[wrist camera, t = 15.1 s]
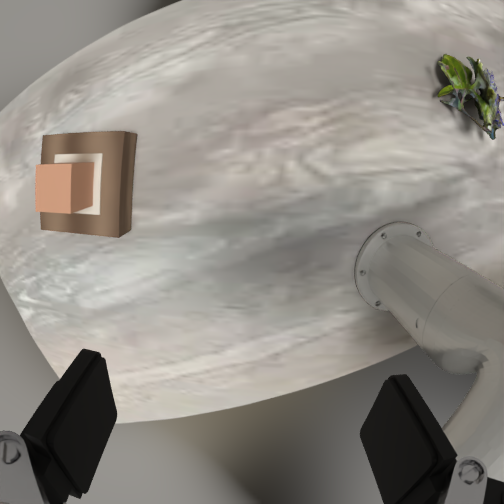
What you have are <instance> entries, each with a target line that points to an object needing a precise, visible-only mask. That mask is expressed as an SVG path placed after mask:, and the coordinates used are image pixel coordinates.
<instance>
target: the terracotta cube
mask: <svg viewBox="0 0 504 504" xmlns="http://www.w3.org/2000/svg"><path fill="white" fill-rule="evenodd" d="M93 179H94V162H73V163H52V164H40V165H36V188H35V195H36V212H51V213H67V214H71V213H74V212H77V211H80V210H82V209H85V208H88V207H91V206H93Z"/></svg>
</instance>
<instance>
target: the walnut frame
mask: <svg viewBox="0 0 504 504" xmlns="http://www.w3.org/2000/svg"><path fill="white" fill-rule="evenodd" d="M136 140H137V134H135V133H130V132H126V131H110V132H84V133H67V134H55V135H44V136H43V141H42V153H41V164H52V163H73V162H94V179H93V206H91V207H88V208H85V209H82V210H80V211H77V212H74V213H71V214H67V213H51V212H40V219H41V230H50V231H59V232H69V233H79V234H88V235H98V236H107V237H117V238H119V237H121V236H122V235H124V234H126V233H127V232H129V231H130V230H131V214H132V190H133V174H134V161H135V150H136Z"/></svg>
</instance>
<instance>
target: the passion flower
mask: <svg viewBox="0 0 504 504" xmlns="http://www.w3.org/2000/svg"><path fill="white" fill-rule="evenodd" d="M467 59H468V60H469V61H470V64H471V65H472V68H473V69H474V72H475V83H474V84H473V85H471V82H470V80H471V79H472V71H471V70H470V69H469V68H468V67H466V66H464V64H462V62H461V61H459V60H457V59H456V58H454V57H452V56H450V55H447V54H444V55H443V57H442V61H441V62H440V61H438V62H437V64H438V65H440V67H441V70H442V71H443V72H444V74H445V75H446V77H447V78H448V79H449V81H450V83H451V85H448V86H446V87H444V88H443V89H441V91H440V92H439V94H438V97H441V96H443V95H446V94H454V95H455V96H456V98H452V99H451V100H450V101H443V100H440V102H443V103H445V104H449V105H451V106H453V107H456V108H457V109H458V110H459V111H461V112H464V113H465V114H467V115H468V116H469V117H470V118H471V119H472V120H473V121H475V122H476V123H477V124H478V125H479V127H480V128H482V129H483V130H484V131H485V132H487V134H489V136H490V138H491V139H493V140H494V139H495V138H496V137H495V131H496V130H497V129H499V128H501V125H500V124H502V126H504V124H503V122H502V118H501V112H500V110H499V102H500V101H504V97H500V96H499V94H497V87H495V83H494V78H493V75H492V72H490V71H488V69H487V68H486V69H485V70H484V71H483V70H482V63H481V62H480V59H477V61H476V62H475V61H474V60H473V59H472V58H471V57H467ZM477 89H479V91H480V95H478V94H477V93H476V90H477ZM459 92H460V93H462V99H461V101H460V100H459V98H458V93H459ZM467 94H470V95H472V96H473V98H471V99H468V100H465V95H467ZM472 99H475V105H476V107H477V109H478V114H479V118H480V120H484V125H483V126H481V125H480V124H479V123H478V121H476V119H474V118H473V117H472V116H471V115H470V114H469V113H467V112H466V110H465V109H464V106H463V104H464V102H466V101H469V100H472Z"/></svg>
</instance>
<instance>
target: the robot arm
mask: <svg viewBox="0 0 504 504" xmlns="http://www.w3.org/2000/svg"><path fill="white" fill-rule="evenodd" d="M382 233H383V235H382ZM381 235H382V236H381ZM361 270H362V271H361ZM360 271H361V272H360ZM355 281H356V286H357V288H358V291H359V293H360V294H361V296H362V297H363V299H364V300H365V301H366V302H367V303H368V304H369V305H371V306H372V307H373V308H376V309H378V310H383V311H390V312H391V313H392V314H393V316H394V317H395V318H396V319H397V320H398V321H399V322H400V324H401V325H402V326H403V327H404V328H405V329H406V331H407V332H408V333H409V334H410V335H411V337H412V338H413V339H414V340H415V341H416V343H417V344H418V345H419V346H420V347H421V348H422V350H423V351H424V352H425V353H426V355H428V357H429V358H430V359H431V360H432V362H433V363H434V364H435V365H436V366H438V367H439V368H440V369H442V370H444V371H446V372H449V373H453V374H469V373H476V372H477V375H476V379H475V381H474V383H473V385H472V386H471V388H470V390H469V391H468V393H467V394H466V396H465V398H464V399H463V401H462V402H461V404H460V405H459V406H458V408H457V409H456V410H455V411H454V413H453V414H452V415H451V417H450V418H449V420H447V422H446V423H445V424H444V425H443V427H442V428H441V427H440V425H439V423H438V422H437V420H436V418H435V417H434V415H433V414H432V412H431V411H430V409H429V407H428V406H427V404H426V403H425V401H424V400H423V399H422V397H421V395H420V394H419V392H418V390H417V389H416V387H415V386H414V384H413V383H412V381H411V380H410V378H409V377H408V376H407V375H405V374H403V375H392V376H390V377H389V378H388V380H386V381H385V382H384V383H383V386H382V388H381V390H380V392H379V394H378V396H377V398H376V400H375V402H374V405H373V407H372V408H371V410H370V412H369V414H368V416H367V418H366V420H365V422H364V424H363V426H362V428H361V430H360V438H361V440H362V443H363V446H364V449H365V451H366V454H367V457H368V460H369V463H370V465H371V468H372V471H373V474H374V476H375V479H376V482H377V485H378V488H379V491H380V494H381V497H382V500H383V503H384V504H504V288H502V287H500V286H499V285H497V284H495V283H494V282H492V281H490V280H489V279H487V278H485V277H484V276H482V275H480V274H479V273H477V272H475V271H474V270H472V269H470V268H468V267H467V266H465V265H463V264H462V263H460V262H458V261H456V260H455V259H453V258H451V257H449V256H447V255H446V254H444V253H442V252H440V251H438V250H436V249H435V248H434V247H433V244H432V242H431V240H430V238H429V236H428V235H427V234H426V233H425V232H424V231H423V230H422V229H421V228H419V227H417V226H415V225H413V224H410V223H407V222H396V223H391V224H388V225H385V226H383V227H382V228H380V229H378V230H377V231H376V232H375V233H373V234H372V235H371V236H370V237H369V239H368V240H367V241H366V242H365V244H364V245H363V247H362V249H361V251H360V253H359V255H358V258H357V261H356V267H355ZM116 419H117V410H116V406H115V402H114V398H113V393H112V389H111V385H110V380H109V375H108V370H107V365H106V360H105V358H103V357H101V354H100V353H99V352H96V351H92V350H88V349H82V350H81V351H80V353H79V354H78V355H77V357H76V358H75V359H74V361H73V362H72V364H71V365H70V366H69V368H68V369H67V370H66V372H65V373H64V375H63V376H62V377H61V379H60V380H59V381H57V382H56V383H55V384H54V385H53V387H52V388H51V390H50V391H49V393H48V394H47V395H46V397H45V398H44V400H43V401H42V403H41V404H40V406H39V407H38V409H37V410H36V411H35V413H34V414H33V416H32V418H31V419H30V421H29V422H28V424H27V425H26V427H25V428H24V430H23V431H22V433H21V435H18V434H16V433H15V432H12V431H0V504H66V501H67V499H68V496H69V495H71V496H74V497H76V498H79V499H80V498H81V496H82V493H84V494H86V493H87V492H88V490H89V488H90V485H91V482H92V480H93V477H94V474H95V472H96V469H97V466H98V464H99V461H100V459H101V456H102V454H103V451H104V449H105V446H106V444H107V441H108V438H109V436H110V434H111V432H112V429H113V427H114V424H115V422H116Z"/></svg>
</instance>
